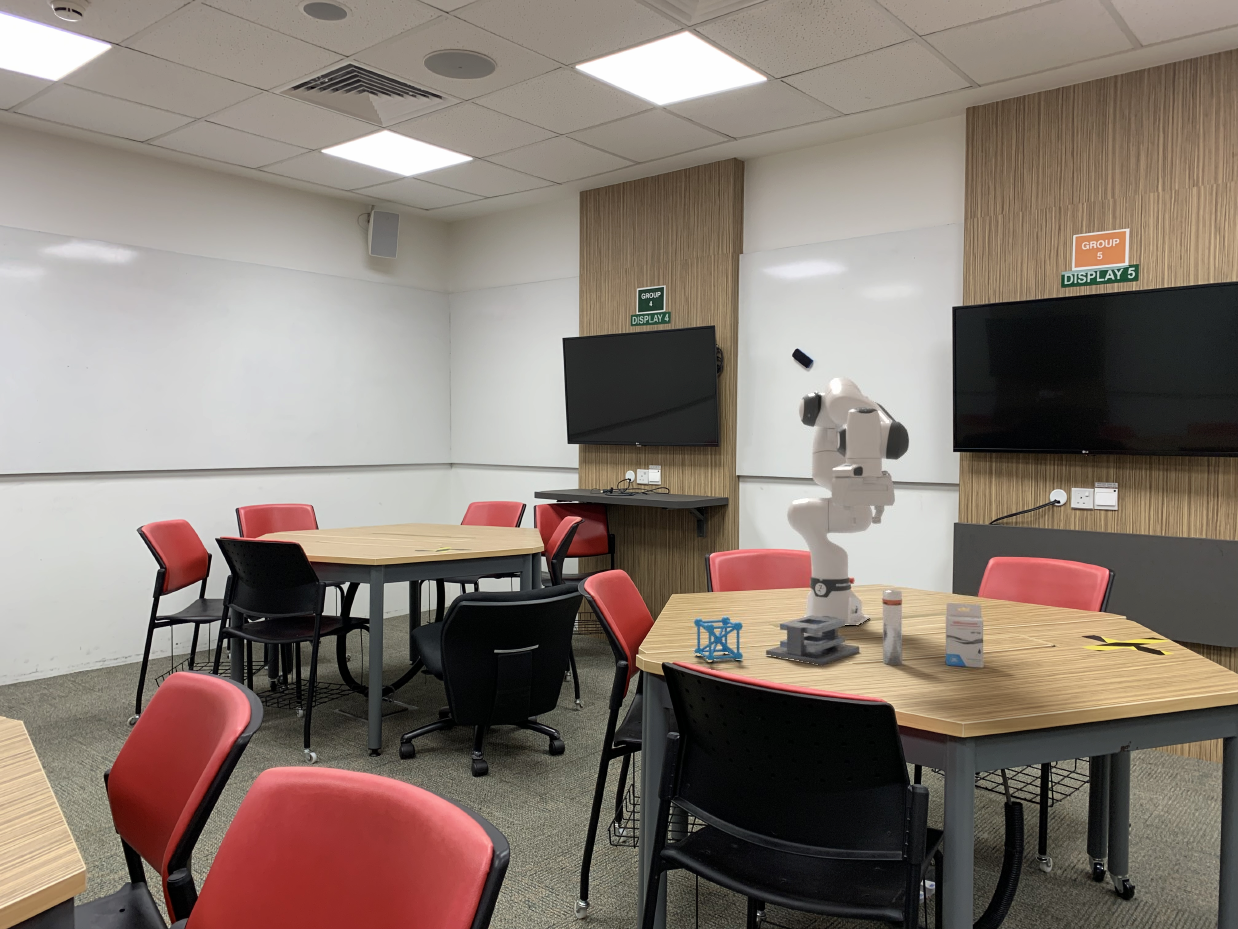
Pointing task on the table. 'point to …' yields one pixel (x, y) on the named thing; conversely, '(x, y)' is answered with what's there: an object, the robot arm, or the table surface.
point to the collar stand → (813, 640)
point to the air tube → (892, 627)
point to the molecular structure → (718, 638)
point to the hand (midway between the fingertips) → (864, 524)
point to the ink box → (964, 635)
